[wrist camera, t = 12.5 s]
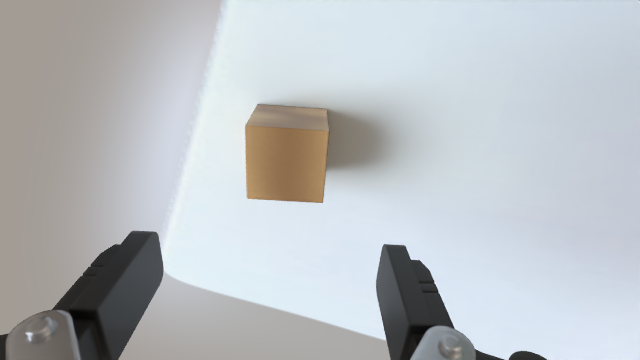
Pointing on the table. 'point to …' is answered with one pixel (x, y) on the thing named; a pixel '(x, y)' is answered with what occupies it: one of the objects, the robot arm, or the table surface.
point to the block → (286, 153)
